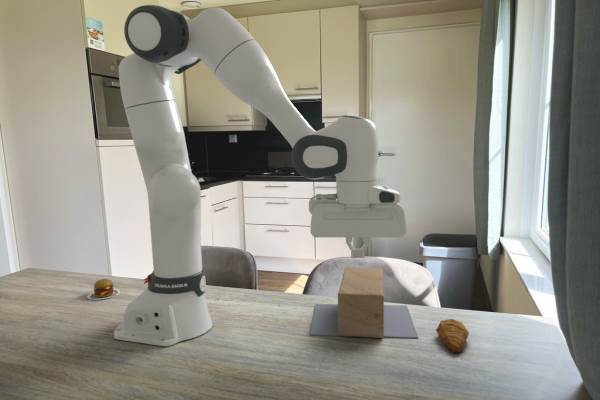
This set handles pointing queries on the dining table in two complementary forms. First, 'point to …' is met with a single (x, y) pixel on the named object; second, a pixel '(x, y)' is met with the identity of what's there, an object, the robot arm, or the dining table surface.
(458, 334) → the croissant
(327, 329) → the felt mat
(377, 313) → the wooden block
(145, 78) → the robot arm
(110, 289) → the hamburger
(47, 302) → the dining table surface
